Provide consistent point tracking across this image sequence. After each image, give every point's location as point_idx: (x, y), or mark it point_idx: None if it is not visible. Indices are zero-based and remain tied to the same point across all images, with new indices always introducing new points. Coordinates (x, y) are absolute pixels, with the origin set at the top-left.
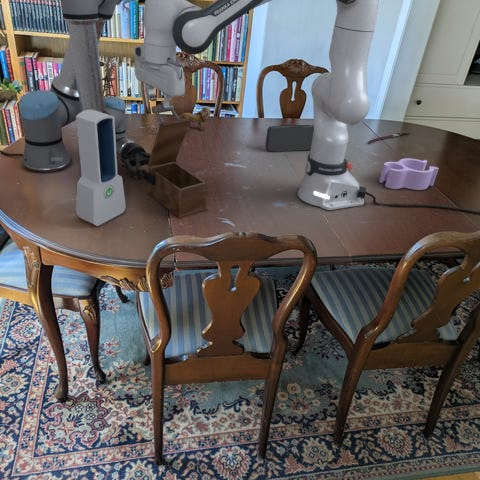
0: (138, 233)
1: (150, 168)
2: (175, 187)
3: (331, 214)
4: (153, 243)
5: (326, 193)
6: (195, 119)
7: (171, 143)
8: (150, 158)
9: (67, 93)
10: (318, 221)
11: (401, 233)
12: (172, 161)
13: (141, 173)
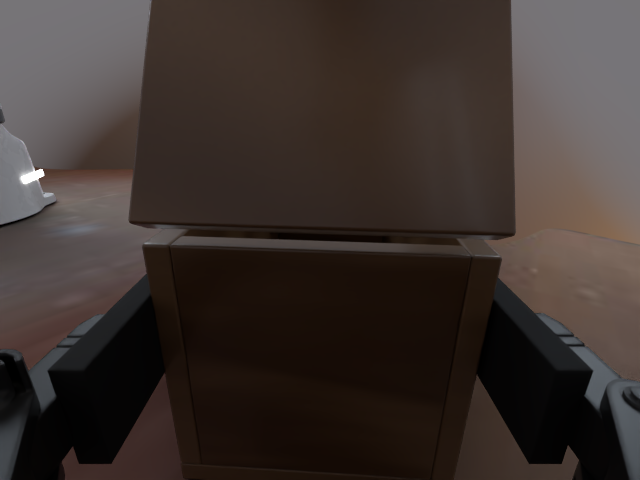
0: (559, 270)
1: (480, 242)
2: None
3: (73, 198)
4: (512, 242)
5: (32, 166)
6: None
7: None
8: (506, 106)
9: None
10: (124, 197)
11: (92, 173)
12: (14, 371)
13: (580, 355)
